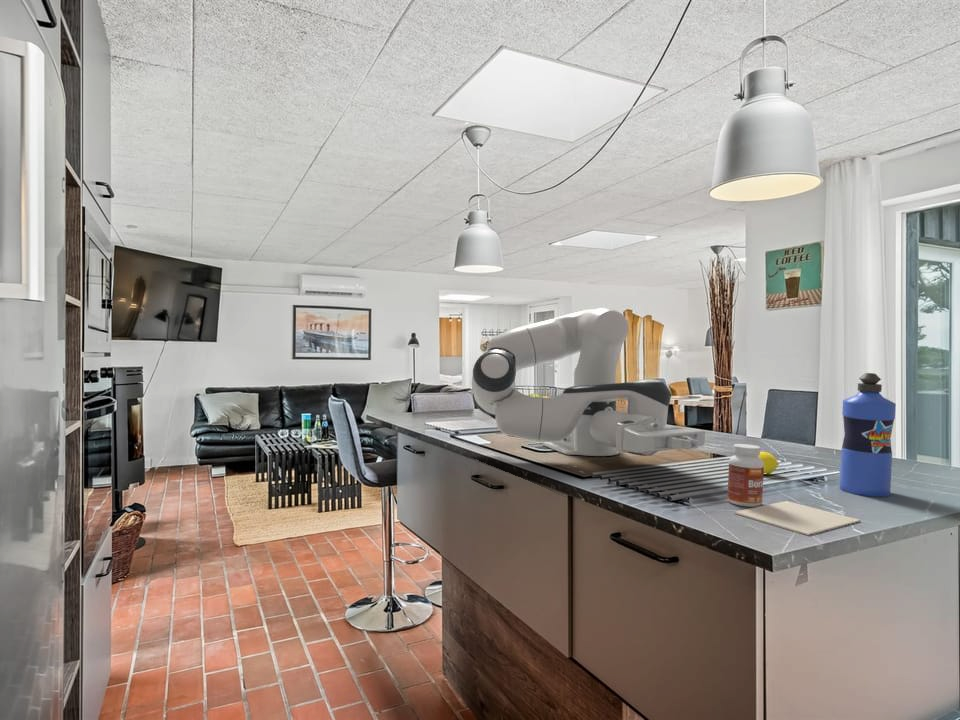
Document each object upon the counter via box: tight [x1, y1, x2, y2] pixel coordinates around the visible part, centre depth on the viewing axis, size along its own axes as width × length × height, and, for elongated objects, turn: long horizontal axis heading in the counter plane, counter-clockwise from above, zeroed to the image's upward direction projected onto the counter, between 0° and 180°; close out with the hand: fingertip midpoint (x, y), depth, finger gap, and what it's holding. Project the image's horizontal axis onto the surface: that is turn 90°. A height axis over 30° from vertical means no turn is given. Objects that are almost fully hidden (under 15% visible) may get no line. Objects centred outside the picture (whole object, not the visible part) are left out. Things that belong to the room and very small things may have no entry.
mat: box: [733, 500, 861, 536], centre depth 107 cm, size 14×16×1 cm
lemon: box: [759, 451, 779, 474], centre depth 141 cm, size 7×5×5 cm
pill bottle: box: [727, 443, 764, 508], centre depth 115 cm, size 6×6×11 cm
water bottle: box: [839, 372, 897, 498], centre depth 126 cm, size 9×9×25 cm
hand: (693, 445), depth 125 cm, fingers closed
